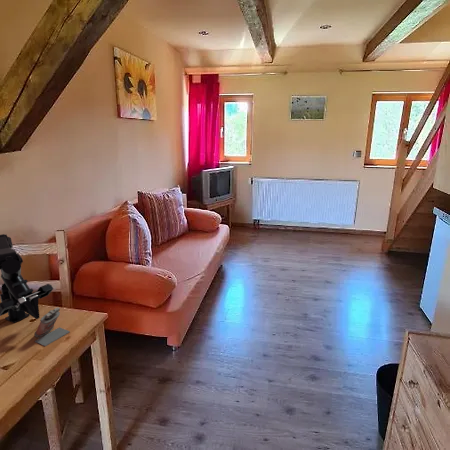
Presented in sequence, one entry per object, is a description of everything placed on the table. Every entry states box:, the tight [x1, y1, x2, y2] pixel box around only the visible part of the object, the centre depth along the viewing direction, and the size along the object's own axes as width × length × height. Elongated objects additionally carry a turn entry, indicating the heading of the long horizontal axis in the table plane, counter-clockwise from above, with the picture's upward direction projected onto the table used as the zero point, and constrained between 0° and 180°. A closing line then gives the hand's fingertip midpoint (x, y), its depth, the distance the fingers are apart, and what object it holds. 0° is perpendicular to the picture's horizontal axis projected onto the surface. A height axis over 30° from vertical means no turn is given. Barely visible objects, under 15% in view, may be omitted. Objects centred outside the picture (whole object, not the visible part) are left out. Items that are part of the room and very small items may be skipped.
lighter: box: [34, 307, 61, 338], centre depth 125 cm, size 8×3×10 cm, turn 165°
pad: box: [34, 326, 71, 347], centre depth 124 cm, size 6×10×1 cm, turn 151°
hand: (38, 318), depth 122 cm, fingers closed
